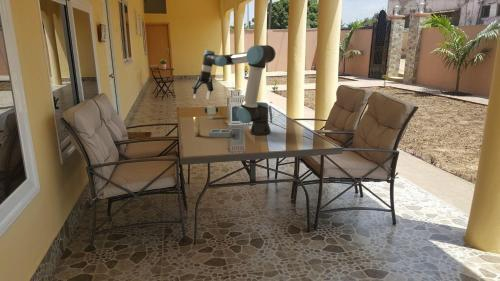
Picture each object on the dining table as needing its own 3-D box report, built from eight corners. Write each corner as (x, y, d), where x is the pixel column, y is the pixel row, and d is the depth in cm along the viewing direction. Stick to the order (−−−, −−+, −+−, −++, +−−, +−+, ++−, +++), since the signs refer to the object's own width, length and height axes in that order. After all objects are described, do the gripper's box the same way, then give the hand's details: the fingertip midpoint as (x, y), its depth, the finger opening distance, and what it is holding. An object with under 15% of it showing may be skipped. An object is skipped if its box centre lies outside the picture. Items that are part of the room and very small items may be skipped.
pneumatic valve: (218, 118, 328) (217, 105, 325) (205, 119, 326) (204, 106, 323) (217, 117, 333) (217, 104, 330) (204, 118, 331) (204, 105, 328)
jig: (232, 134, 273) (232, 129, 272) (229, 137, 263) (229, 132, 262) (212, 133, 275) (212, 129, 274) (209, 137, 265) (208, 132, 264)
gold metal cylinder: (201, 135, 271) (200, 116, 268) (199, 136, 267) (198, 117, 263) (195, 135, 272) (194, 116, 268) (193, 136, 268) (192, 117, 264)
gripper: (214, 72, 289) (209, 98, 293) (190, 68, 269) (185, 96, 274) (221, 73, 284) (215, 100, 289) (197, 70, 265) (192, 99, 269)
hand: (201, 98), depth 281 cm, fingers open, 13 cm apart
